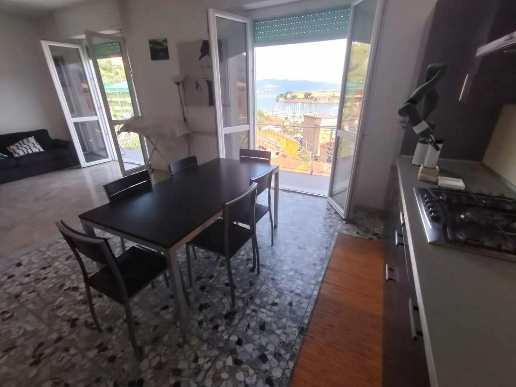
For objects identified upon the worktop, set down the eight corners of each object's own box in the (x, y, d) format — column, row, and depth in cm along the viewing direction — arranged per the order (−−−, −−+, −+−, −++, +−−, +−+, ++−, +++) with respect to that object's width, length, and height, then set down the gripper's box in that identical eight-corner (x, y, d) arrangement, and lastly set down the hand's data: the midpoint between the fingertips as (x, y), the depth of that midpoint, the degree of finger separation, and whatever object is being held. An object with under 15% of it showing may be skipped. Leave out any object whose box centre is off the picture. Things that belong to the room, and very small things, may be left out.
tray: (436, 179, 158) (437, 176, 157) (459, 182, 152) (461, 179, 151) (438, 186, 147) (439, 182, 146) (463, 190, 141) (465, 186, 140)
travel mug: (435, 169, 153) (445, 139, 145) (423, 167, 157) (432, 138, 148) (435, 167, 158) (445, 137, 149) (424, 165, 161) (433, 136, 153)
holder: (417, 174, 167) (421, 164, 163) (434, 177, 162) (437, 166, 159) (418, 179, 158) (421, 168, 155) (435, 182, 154) (439, 170, 151)
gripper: (429, 127, 143) (446, 148, 143) (427, 123, 155) (443, 143, 154) (416, 135, 148) (433, 155, 148) (416, 131, 159) (431, 150, 159)
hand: (438, 149), depth 151 cm, fingers closed on travel mug, 6 cm apart
